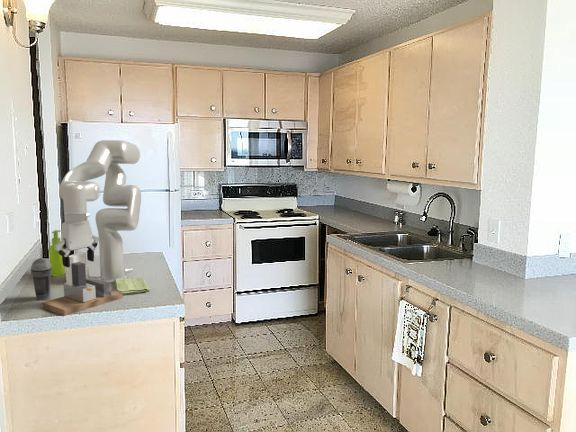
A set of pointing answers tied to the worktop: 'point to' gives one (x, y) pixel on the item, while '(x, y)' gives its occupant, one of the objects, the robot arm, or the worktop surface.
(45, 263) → the beverage cup
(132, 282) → the washcloth
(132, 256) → the worktop surface
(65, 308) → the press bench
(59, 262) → the soap dispenser
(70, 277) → the base with upright slab
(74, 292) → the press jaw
